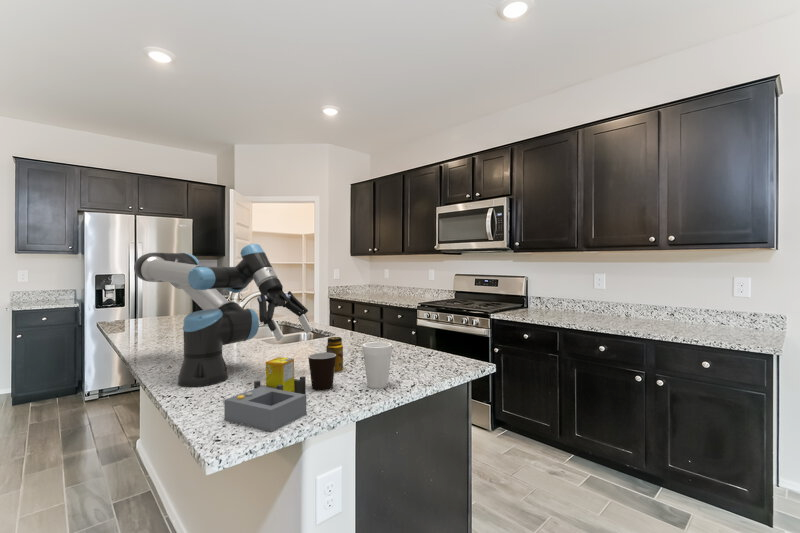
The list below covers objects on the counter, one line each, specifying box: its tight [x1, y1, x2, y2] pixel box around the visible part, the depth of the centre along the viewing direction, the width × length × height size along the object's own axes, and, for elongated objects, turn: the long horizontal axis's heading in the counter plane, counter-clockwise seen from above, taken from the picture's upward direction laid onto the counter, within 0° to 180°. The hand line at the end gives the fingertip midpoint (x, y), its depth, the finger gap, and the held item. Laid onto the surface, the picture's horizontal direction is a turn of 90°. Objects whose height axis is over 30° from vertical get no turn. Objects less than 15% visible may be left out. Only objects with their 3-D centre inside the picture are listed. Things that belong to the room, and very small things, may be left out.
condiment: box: [325, 336, 348, 374], centre depth 142 cm, size 7×8×12 cm
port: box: [223, 385, 308, 432], centre depth 99 cm, size 16×12×6 cm
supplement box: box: [265, 356, 295, 392], centre depth 114 cm, size 6×6×11 cm
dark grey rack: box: [253, 375, 307, 395], centre depth 114 cm, size 10×10×5 cm
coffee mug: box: [307, 352, 336, 392], centre depth 124 cm, size 12×9×10 cm
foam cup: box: [361, 341, 393, 389], centre depth 124 cm, size 10×9×13 cm
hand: (295, 335), depth 130 cm, fingers open, 13 cm apart
